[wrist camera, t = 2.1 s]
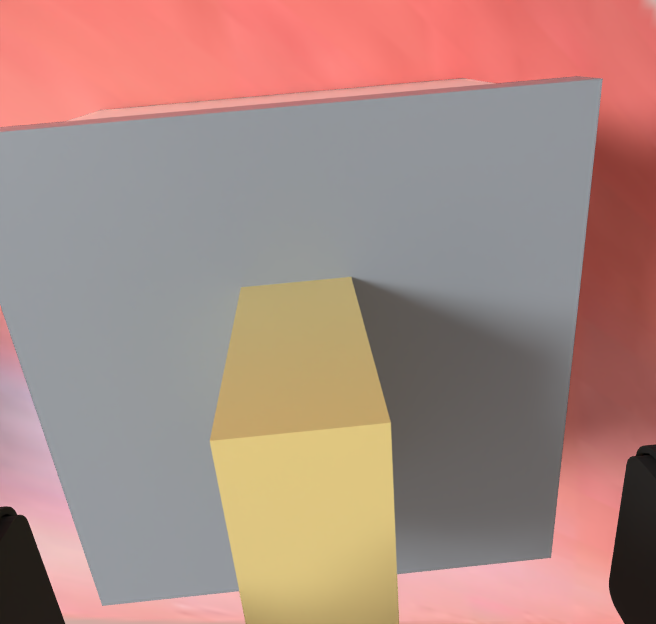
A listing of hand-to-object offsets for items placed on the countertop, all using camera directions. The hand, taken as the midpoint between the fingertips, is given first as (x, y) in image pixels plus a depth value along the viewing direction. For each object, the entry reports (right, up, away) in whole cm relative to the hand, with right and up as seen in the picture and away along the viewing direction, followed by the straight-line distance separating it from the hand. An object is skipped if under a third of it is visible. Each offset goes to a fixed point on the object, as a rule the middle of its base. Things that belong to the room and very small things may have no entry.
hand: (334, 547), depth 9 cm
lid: (-1, +2, +4) cm, 5 cm away
